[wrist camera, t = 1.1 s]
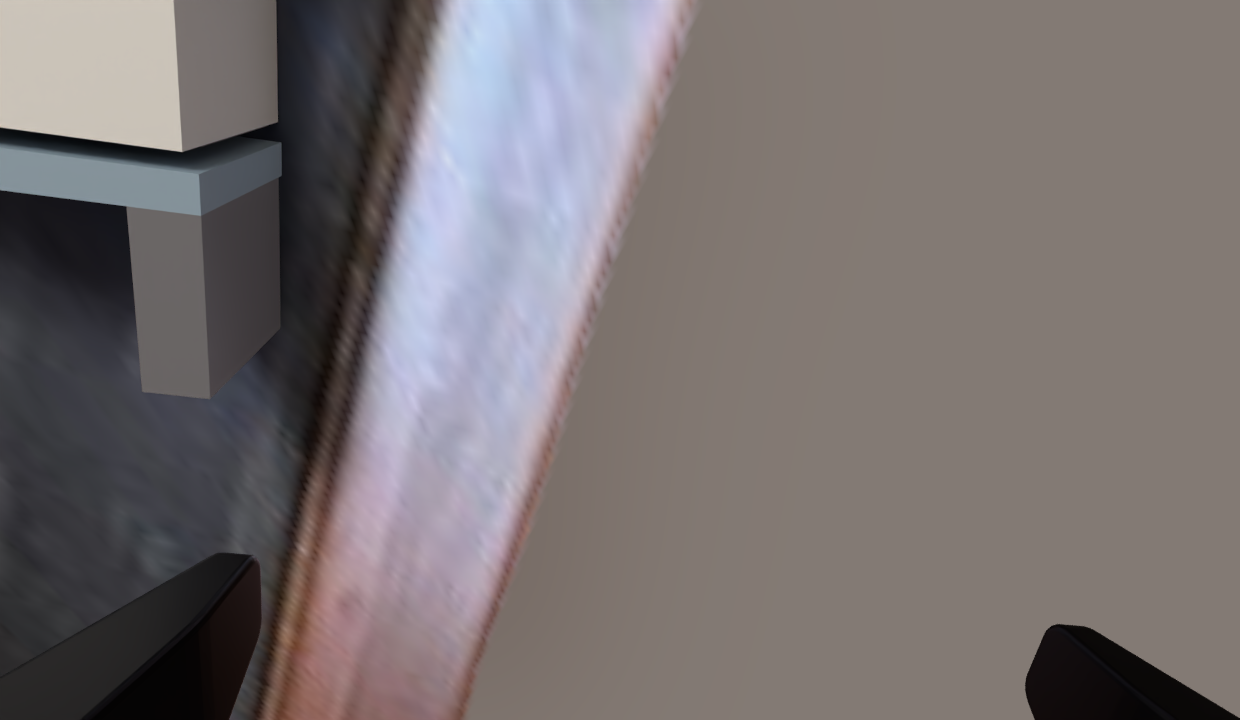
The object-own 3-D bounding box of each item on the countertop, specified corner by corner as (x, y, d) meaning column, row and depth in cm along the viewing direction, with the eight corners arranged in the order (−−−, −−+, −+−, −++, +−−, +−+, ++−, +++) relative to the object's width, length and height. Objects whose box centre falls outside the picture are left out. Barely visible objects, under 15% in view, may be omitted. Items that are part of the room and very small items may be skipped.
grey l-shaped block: (283, 325, 19) (210, 398, 15) (-13, 290, 18) (-166, 358, 14) (281, 142, 17) (198, 173, 13) (-43, 97, 16) (-223, 118, 13)
